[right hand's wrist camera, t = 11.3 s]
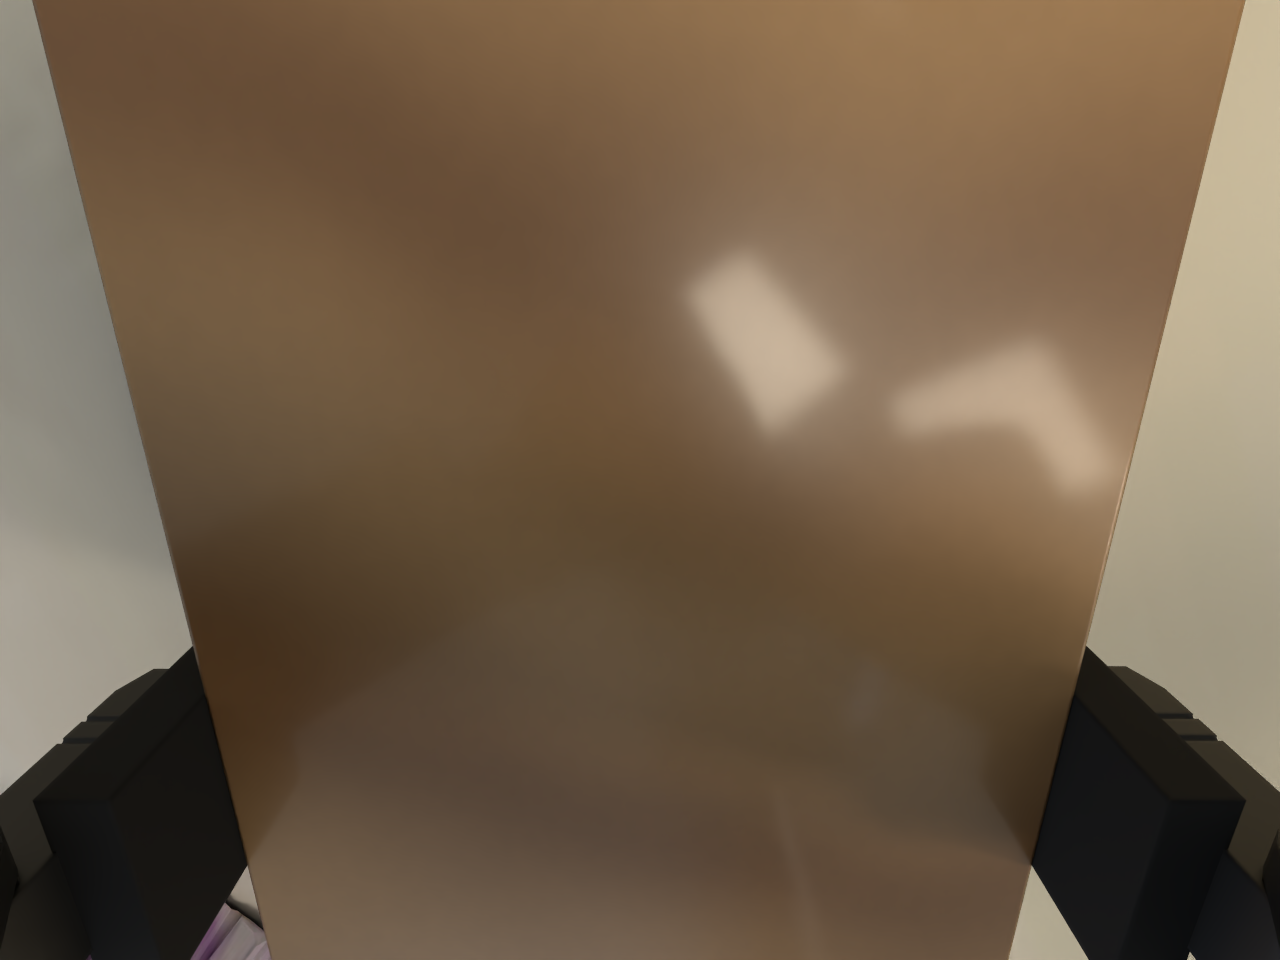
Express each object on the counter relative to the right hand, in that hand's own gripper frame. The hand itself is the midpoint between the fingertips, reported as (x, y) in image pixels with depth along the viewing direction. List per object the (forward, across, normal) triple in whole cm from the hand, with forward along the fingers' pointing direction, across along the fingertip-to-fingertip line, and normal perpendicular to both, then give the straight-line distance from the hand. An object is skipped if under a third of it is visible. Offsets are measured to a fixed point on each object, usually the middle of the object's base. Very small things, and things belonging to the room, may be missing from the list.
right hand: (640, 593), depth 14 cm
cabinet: (+3, 0, -7) cm, 8 cm away
